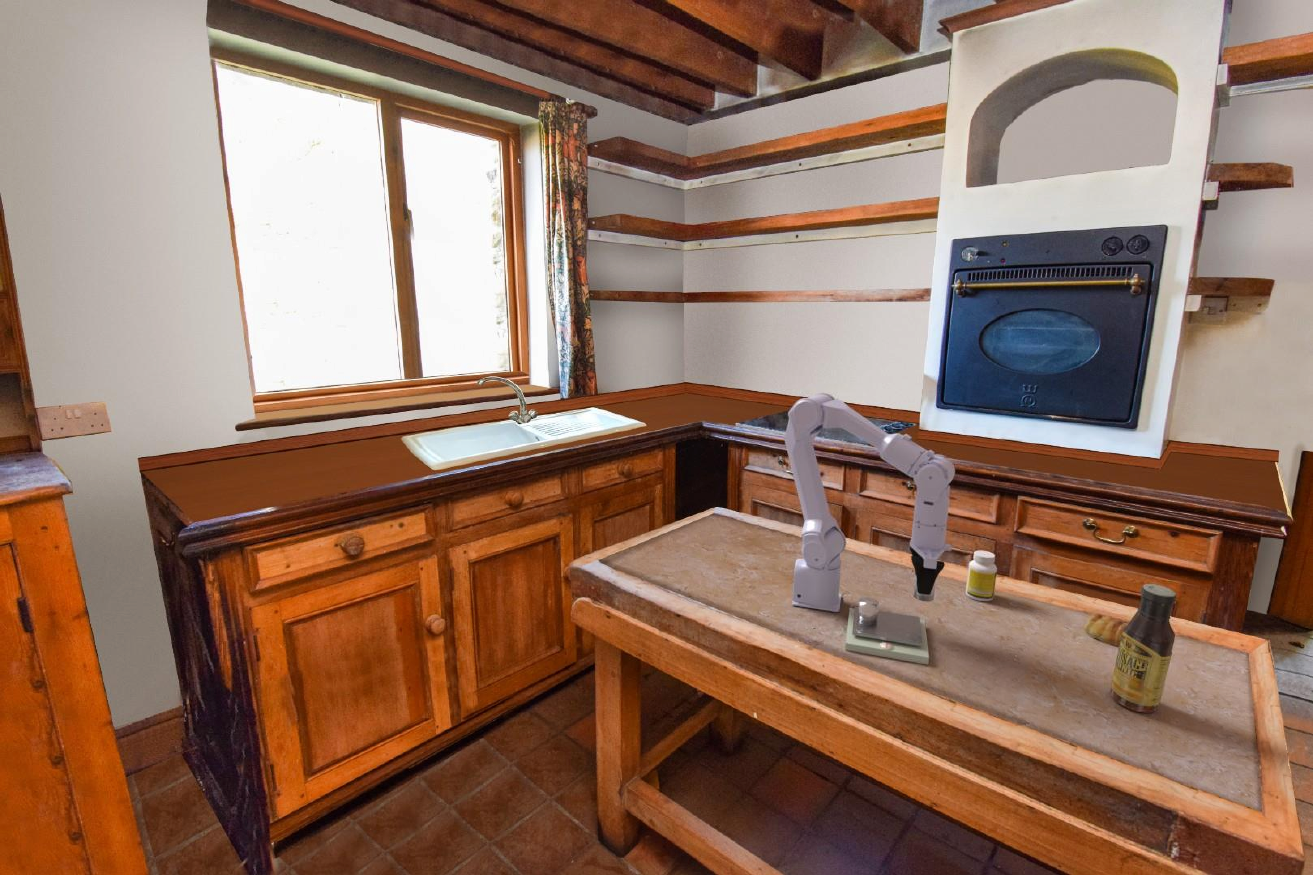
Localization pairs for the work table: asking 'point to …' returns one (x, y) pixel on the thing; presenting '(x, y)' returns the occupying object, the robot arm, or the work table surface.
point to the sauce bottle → (1145, 652)
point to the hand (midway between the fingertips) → (923, 588)
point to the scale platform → (891, 628)
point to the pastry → (1105, 629)
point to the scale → (887, 645)
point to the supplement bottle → (981, 576)
